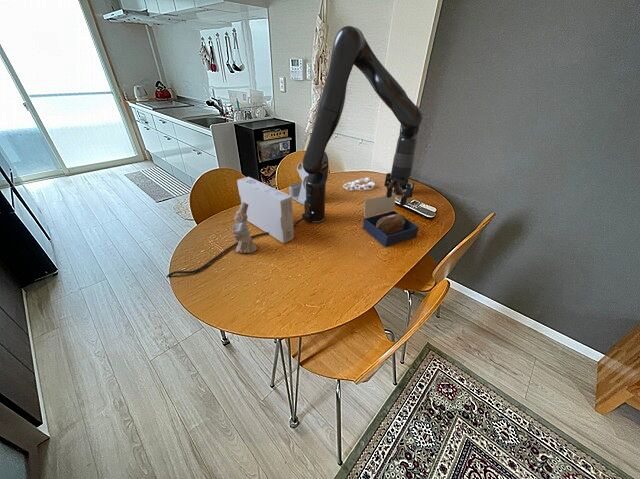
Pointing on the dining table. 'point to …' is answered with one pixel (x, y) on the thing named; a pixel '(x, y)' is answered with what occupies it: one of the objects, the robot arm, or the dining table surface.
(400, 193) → the bottle
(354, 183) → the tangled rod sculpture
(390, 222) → the tin
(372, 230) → the carton
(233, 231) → the figurine
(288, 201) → the packaging
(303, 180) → the phone holder
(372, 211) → the carton flap
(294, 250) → the dining table surface
